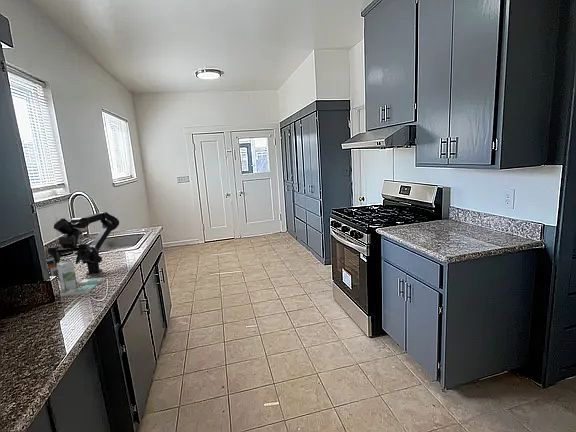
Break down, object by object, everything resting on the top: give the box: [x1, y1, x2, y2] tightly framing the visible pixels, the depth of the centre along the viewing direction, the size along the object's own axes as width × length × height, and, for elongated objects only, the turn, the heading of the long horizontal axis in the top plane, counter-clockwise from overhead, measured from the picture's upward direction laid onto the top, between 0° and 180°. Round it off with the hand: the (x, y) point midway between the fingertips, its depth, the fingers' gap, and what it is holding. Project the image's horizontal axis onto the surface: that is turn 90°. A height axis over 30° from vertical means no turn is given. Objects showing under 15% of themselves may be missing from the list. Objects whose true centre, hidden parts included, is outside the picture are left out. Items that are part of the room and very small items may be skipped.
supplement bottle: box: [46, 258, 59, 279], centre depth 186 cm, size 6×6×11 cm
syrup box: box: [57, 259, 78, 290], centre depth 168 cm, size 6×6×14 cm
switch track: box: [59, 277, 103, 297], centre depth 170 cm, size 17×17×2 cm
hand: (66, 264), depth 169 cm, fingers open, 9 cm apart
